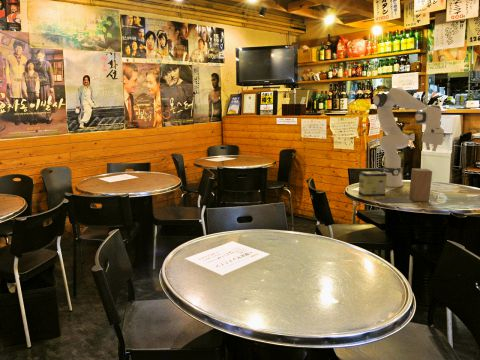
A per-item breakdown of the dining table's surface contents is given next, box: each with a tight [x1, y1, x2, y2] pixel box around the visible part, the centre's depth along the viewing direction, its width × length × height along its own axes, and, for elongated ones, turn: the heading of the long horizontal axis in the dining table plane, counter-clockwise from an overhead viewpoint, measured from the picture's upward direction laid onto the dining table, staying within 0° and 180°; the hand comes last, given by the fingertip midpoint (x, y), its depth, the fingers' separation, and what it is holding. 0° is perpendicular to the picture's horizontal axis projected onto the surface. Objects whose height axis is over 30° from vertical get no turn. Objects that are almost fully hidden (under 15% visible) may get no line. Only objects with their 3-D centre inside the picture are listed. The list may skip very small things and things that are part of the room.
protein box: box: [358, 170, 387, 197], centre depth 293 cm, size 10×16×16 cm
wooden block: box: [408, 167, 433, 203], centre depth 277 cm, size 10×10×20 cm
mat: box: [373, 197, 417, 204], centre depth 277 cm, size 13×22×1 cm, turn 95°
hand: (431, 150), depth 285 cm, fingers open, 6 cm apart
